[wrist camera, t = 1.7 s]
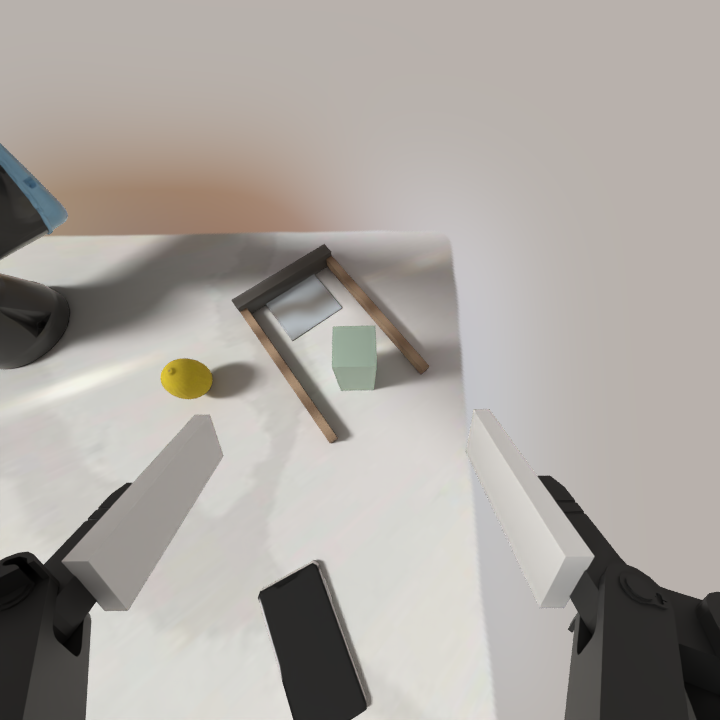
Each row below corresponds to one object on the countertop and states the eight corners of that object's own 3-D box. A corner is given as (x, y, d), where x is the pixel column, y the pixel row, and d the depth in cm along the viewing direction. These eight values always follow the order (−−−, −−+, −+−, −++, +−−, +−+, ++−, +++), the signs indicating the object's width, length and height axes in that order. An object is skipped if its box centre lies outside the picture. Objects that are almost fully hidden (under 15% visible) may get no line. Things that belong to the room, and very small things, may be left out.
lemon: (228, 376, 42) (199, 360, 35) (209, 409, 41) (173, 399, 33) (199, 363, 43) (164, 344, 36) (179, 394, 41) (137, 382, 34)
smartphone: (301, 751, 28) (255, 594, 33) (303, 740, 29) (259, 589, 34) (369, 708, 29) (316, 560, 34) (369, 698, 30) (318, 556, 35)
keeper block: (340, 390, 41) (331, 367, 30) (341, 359, 43) (332, 326, 32) (373, 390, 41) (376, 366, 30) (372, 359, 43) (375, 325, 32)
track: (239, 309, 46) (231, 300, 43) (326, 256, 49) (324, 244, 47) (331, 443, 39) (328, 442, 36) (426, 370, 42) (431, 364, 39)
